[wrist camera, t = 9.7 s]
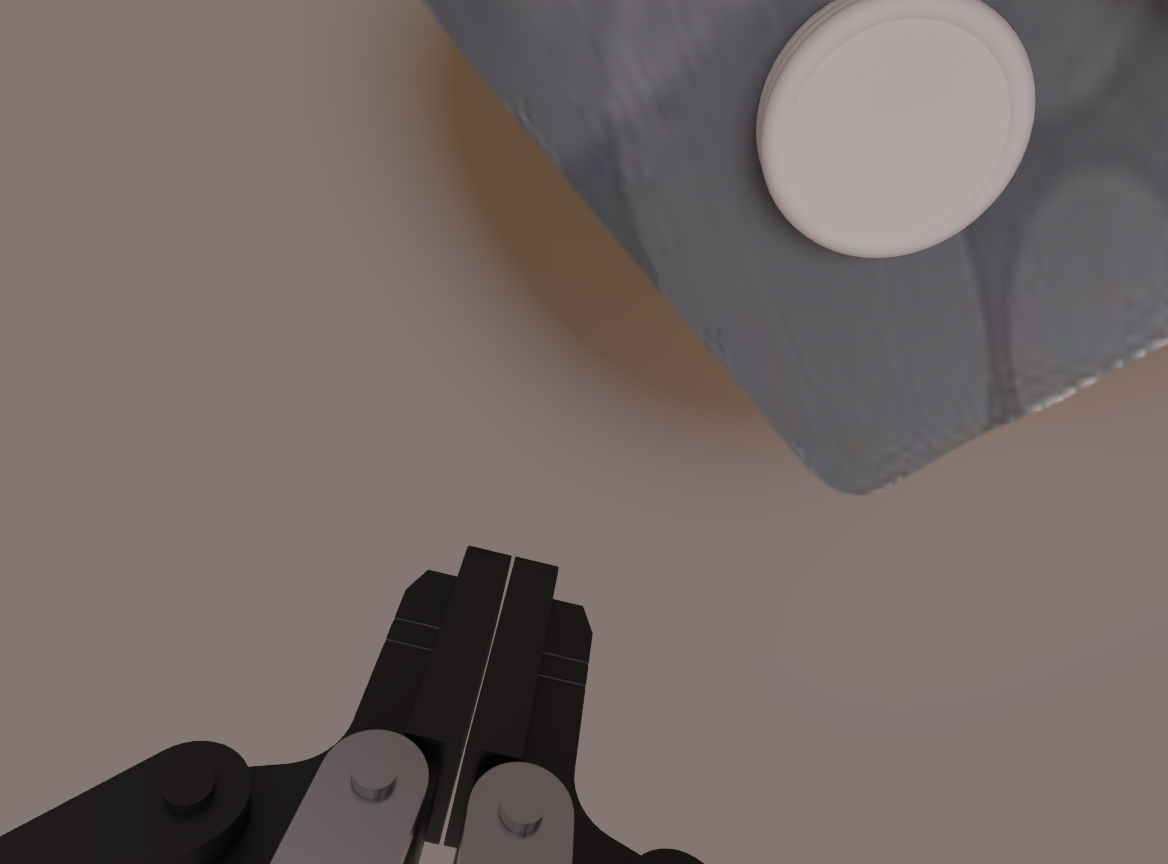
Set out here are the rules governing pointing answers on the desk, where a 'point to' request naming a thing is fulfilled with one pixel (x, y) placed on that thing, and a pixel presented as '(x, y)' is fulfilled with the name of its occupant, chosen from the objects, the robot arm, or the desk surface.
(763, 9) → the desk surface
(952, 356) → the desk surface
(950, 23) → the white round container
